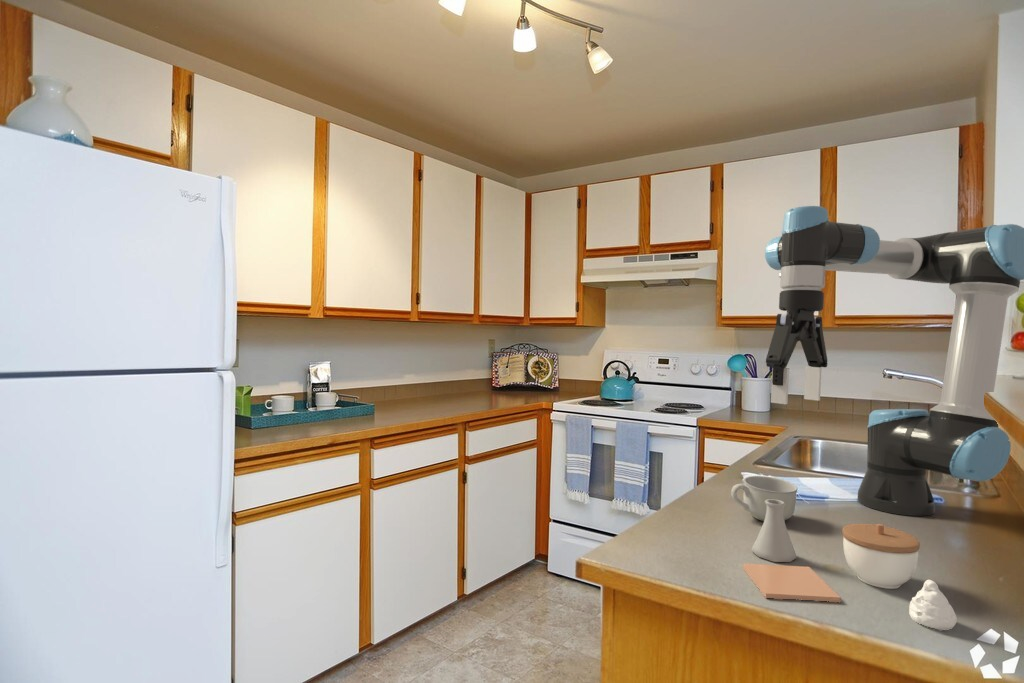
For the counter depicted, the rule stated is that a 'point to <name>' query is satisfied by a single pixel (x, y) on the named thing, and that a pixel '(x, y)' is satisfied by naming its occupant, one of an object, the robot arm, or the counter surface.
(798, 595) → the coaster
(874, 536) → the lidded jar
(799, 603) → the counter surface
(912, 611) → the garlic bulb
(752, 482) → the teacup
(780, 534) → the flask
